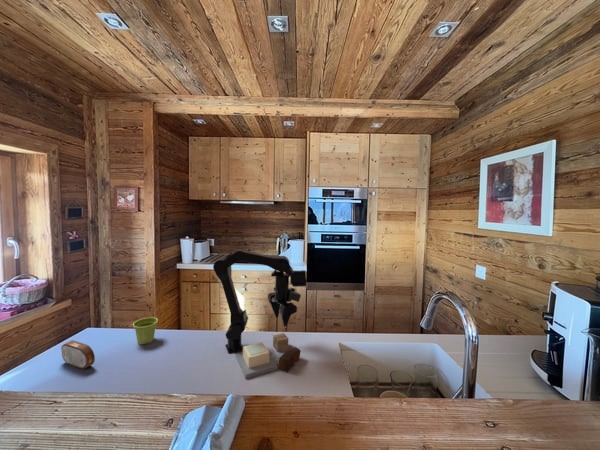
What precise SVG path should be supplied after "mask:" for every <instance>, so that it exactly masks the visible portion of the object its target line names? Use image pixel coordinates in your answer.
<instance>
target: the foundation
mask: <svg viewBox="0 0 600 450" xmlns="http://www.w3.org/2000/svg"><path fill="white" fill-rule="evenodd" d="M235 358H236V361H237V363H238V365H239V368H240V369H241V372H242V374H243V376H244V379H245V380H246V379H249V378H252V377H256V376H260V375H263V374H266V373H269V372H273V371H277V370H278V365H277V364H276V362H275V361H274V359H273V357H272V356H271V355H270V351H269V350H268V349H267V347H266V345H265V343H264V342H258V343H254V344H249V345H244V346H243V350H242V352H237V353H236V354H235Z"/></svg>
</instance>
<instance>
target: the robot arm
mask: <svg viewBox="0 0 600 450" xmlns="http://www.w3.org/2000/svg"><path fill="white" fill-rule="evenodd" d="M239 261H243V262H248V263H251V264H257V265H263V266H266V267H269V268H271V269H273V270H274V271H273V272H271V277H275V281H274V282H275V284H274V285H275V286H274V287H273V291H274V292H269V293H268V294H267V300H268V302H269V306H271V310H272V312H273V314H274V316H275V318H276V319H277V318H279V315H280V318H281V321H282V325H283V327H288V324H289V321H290V318H291V316H292V315H293V314H296V313H297V312H298V306H296V304H294V303H293V302H292V301H294V302H297V303H299V302H300V299H301V297H302V295H301V294H300V293H299V292H298V291H295V288H296V287H298V288H299V287H302V288H303V287H305V288H306V287H307V272H306V270H305V269H304V270H294V269H293V267H292V266H291V264H290V260H289V258H288V257H287V256H285V255H267V254H263V253H257V252H252V251H249V250H244V249H237V250H236V251H234V252H232V253H231V254H230V255H228V256H227V257H226V256H224V257H220V258H219V259H217V260H216V261H215V262H214V264H213V271H214V273H215V275H216V277H217V279H218V280H219V281H220V282H221V285H222V289H223V292H224V295H225V299H226V302H227V303H226V304H227V306H228V310H229V312H230V324H229V326H228V329H227V331H226V333H225V338H226V339H227V344H225V345H224V346H225V348H226V350H227V351H226V352H227V354H230V353H232V354H233V353H235V352H240V351H243V347H244V346H243V344H242V334H243V333H244V332H245V329H246V328H247V325H248V324H247V323H248V320H249V316H248V314H247V310H246V309H244V310H243V309H242V308H241V306H240V302H239V299H238V295H237V292H236V289H235V285H234V282H233V278H232V269H233V268H232V266H233V265H234V264H236V263H237V262H239ZM289 284H290V285H291V286H292V287H289V286H290V285H289ZM293 287H295V288H293Z"/></svg>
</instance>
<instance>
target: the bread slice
mask: <svg viewBox="0 0 600 450" xmlns="http://www.w3.org/2000/svg"><path fill="white" fill-rule="evenodd" d="M61 357H62V359H63V361H64V362H65V363H66V364H67V365H70V366H73V367H75V368H78V369H81V370H85V369H87V368H88V367H90V366H92V365H93V364H94V363H95V362H96V361H95V360H96V356H95V352H94V350H93V348H92V347H91V346H90V345H88V344H86V343H83V342H80V341H78V340H73V339H71V340H69V341H68V342H65V343H64V344H63V345H62V346H61Z"/></svg>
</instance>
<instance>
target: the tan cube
mask: <svg viewBox="0 0 600 450" xmlns="http://www.w3.org/2000/svg"><path fill="white" fill-rule="evenodd" d="M272 336H273V337H272V347H273V348H274V350H275V351H276V352H277V353H279V352H283V351H287V350H288V349H289V337H288V335H286V333H284V332H282V333H277V334H273V335H272Z"/></svg>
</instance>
